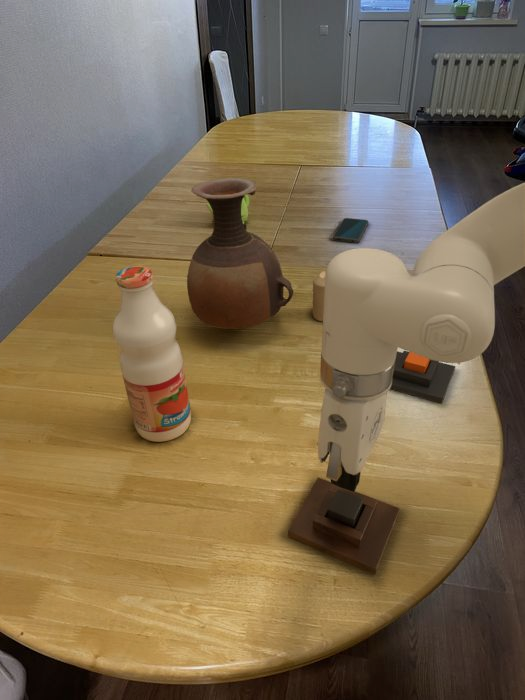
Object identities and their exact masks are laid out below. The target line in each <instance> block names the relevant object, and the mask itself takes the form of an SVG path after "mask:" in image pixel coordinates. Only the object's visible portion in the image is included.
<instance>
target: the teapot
mask: <svg viewBox="0 0 525 700" xmlns="http://www.w3.org/2000/svg"><path fill="white" fill-rule="evenodd" d="M250 204H251V202H250V197H249V194H247V195H244V197H243V200H242V204H241V217H242V222H243V224H245V222H246V221H247V220H248V217H249V210H248V209H249V208H248V206H249V205H250ZM205 205H206V207H207V208H208V210H209V212H210V214H211V216H212V219H214V217H213V211H212V208H211V206H210V204H209V202H207V203H206V204H205Z"/></svg>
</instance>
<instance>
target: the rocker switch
mask: <svg viewBox="0 0 525 700" xmlns="http://www.w3.org/2000/svg"><path fill="white" fill-rule="evenodd" d="M363 502H364V499H362V498H360V497H357V496H354V495H352V494H349V493H346V492H344V491H341V490H339V489H338V490H337V492H336V494H335V496H334V498H333V500H332V502H331V504H330V506H329V508H328V514H327V517H328V518H330V519H332V520H335V521H337V522H340V523H342V524H345V525H347V526H349V527H352V528H354V526H355V523H356V521H357V519H358V517H359V515H360V513H361V510H362V508H363Z"/></svg>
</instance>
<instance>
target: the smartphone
mask: <svg viewBox="0 0 525 700" xmlns="http://www.w3.org/2000/svg"><path fill="white" fill-rule="evenodd" d="M368 225H369V220H368V219H364V218H363V219H362V218H351V217H345V218H343V219H342V221H341V222H340V224H339V225H338V227H337V229H336V231H335V232H334V233H333V235H332V240H333V241H336V242H345V243H353V244H354V243H355V244H357V243H359V242H360V241H361V240H362V237H363V235H364V233H365V231H366V230H367V227H368Z"/></svg>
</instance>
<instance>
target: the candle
mask: <svg viewBox="0 0 525 700" xmlns="http://www.w3.org/2000/svg"><path fill="white" fill-rule="evenodd" d="M325 276H326V270H324V271H321V272H320V273H318V274H317V275H316V276H315V277H314V278H313V279H312V317H313V318H314V319H315V320H317V321H319V322H323V311H324V291H325Z"/></svg>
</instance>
